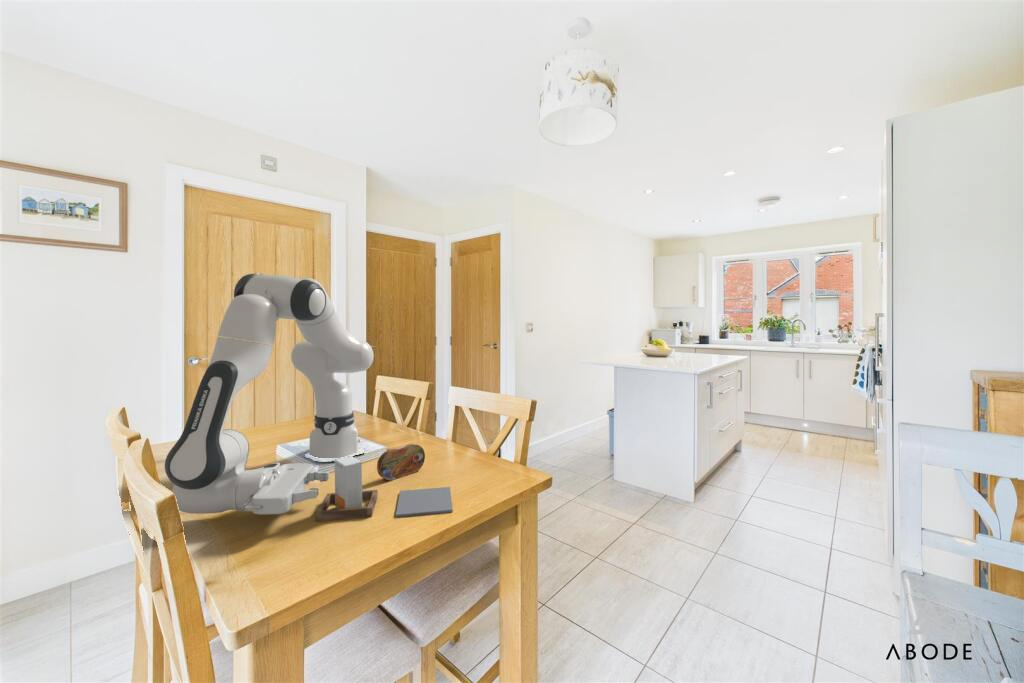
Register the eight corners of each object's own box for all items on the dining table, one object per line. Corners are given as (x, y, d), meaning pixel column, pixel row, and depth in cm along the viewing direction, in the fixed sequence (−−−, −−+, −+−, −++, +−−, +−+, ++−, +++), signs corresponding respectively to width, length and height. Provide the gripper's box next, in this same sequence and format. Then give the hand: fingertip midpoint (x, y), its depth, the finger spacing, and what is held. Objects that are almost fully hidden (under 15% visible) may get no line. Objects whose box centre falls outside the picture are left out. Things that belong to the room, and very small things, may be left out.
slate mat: (400, 493, 103) (400, 490, 103) (449, 489, 106) (449, 486, 106) (395, 517, 90) (395, 514, 90) (452, 512, 93) (452, 509, 93)
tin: (381, 484, 109) (381, 454, 108) (375, 481, 111) (375, 452, 110) (425, 469, 120) (425, 442, 120) (419, 466, 122) (419, 440, 122)
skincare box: (334, 507, 95) (333, 459, 94) (351, 501, 98) (351, 454, 97) (345, 516, 91) (344, 465, 90) (363, 509, 94) (362, 461, 93)
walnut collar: (327, 501, 98) (327, 493, 98) (377, 497, 101) (377, 489, 100) (316, 521, 88) (315, 512, 88) (371, 516, 91) (371, 508, 91)
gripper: (236, 495, 80) (309, 490, 83) (275, 460, 100) (333, 456, 103) (237, 525, 80) (310, 519, 83) (276, 484, 100) (334, 480, 103)
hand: (323, 484), depth 93 cm, fingers open, 8 cm apart
